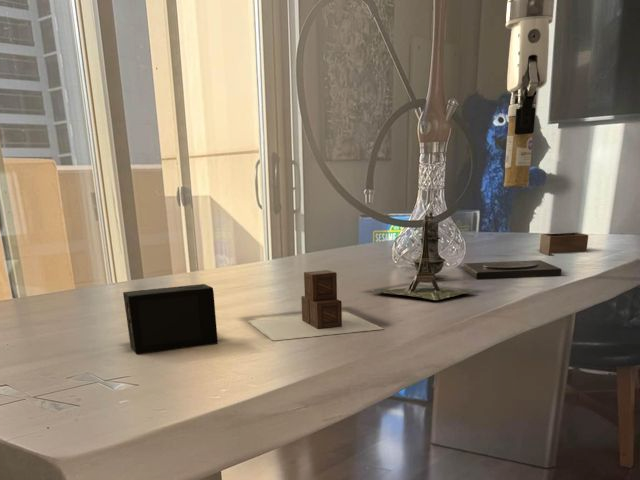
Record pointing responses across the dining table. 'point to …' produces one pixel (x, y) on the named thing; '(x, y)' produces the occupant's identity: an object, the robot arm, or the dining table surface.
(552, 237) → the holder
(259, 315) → the dining table surface
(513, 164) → the sprinkles bottle
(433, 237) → the dark brown tall piece
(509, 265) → the hob plate
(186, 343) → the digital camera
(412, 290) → the eiffel tower figurine
